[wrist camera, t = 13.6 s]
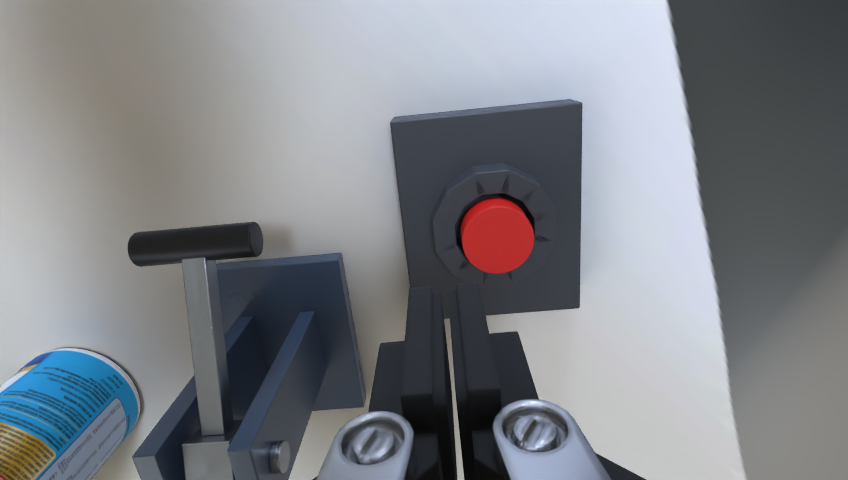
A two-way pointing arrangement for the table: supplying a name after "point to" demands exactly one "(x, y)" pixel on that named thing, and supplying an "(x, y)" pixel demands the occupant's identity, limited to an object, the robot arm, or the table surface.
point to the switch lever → (204, 329)
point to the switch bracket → (270, 366)
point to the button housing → (493, 177)
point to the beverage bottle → (64, 416)
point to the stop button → (496, 235)
